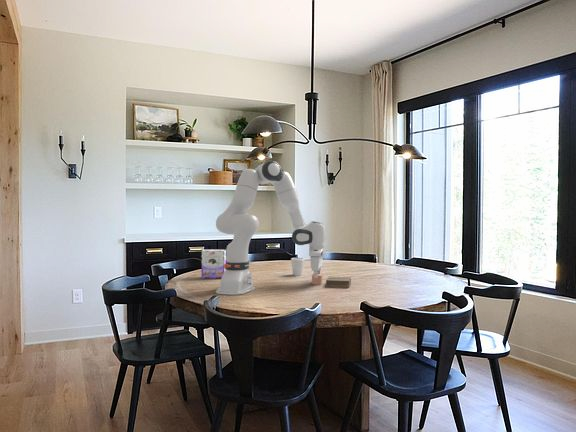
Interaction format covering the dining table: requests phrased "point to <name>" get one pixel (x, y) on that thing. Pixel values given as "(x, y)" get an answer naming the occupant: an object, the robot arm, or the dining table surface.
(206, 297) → the dining table surface
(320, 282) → the terracotta cube
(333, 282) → the walnut block
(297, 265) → the dixie cup
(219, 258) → the candy box
